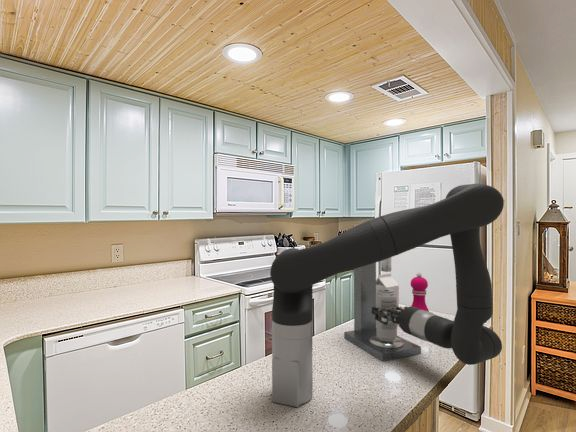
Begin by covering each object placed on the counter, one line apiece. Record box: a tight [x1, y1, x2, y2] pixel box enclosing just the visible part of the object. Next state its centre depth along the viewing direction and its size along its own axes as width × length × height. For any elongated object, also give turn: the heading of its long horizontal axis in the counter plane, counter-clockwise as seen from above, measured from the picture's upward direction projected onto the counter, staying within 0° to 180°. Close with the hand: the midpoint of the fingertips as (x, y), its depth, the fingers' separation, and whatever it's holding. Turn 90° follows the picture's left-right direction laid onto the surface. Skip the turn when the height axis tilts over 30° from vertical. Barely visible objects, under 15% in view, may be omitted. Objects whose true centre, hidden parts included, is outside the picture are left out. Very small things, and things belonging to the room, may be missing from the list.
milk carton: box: [376, 272, 400, 307], centre depth 128 cm, size 7×7×19 cm
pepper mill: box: [410, 272, 430, 312], centre depth 125 cm, size 7×7×20 cm
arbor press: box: [343, 257, 422, 362], centre depth 109 cm, size 20×22×34 cm
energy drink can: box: [376, 288, 398, 342], centre depth 104 cm, size 6×6×15 cm
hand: (381, 309), depth 106 cm, fingers closed on energy drink can, 6 cm apart
